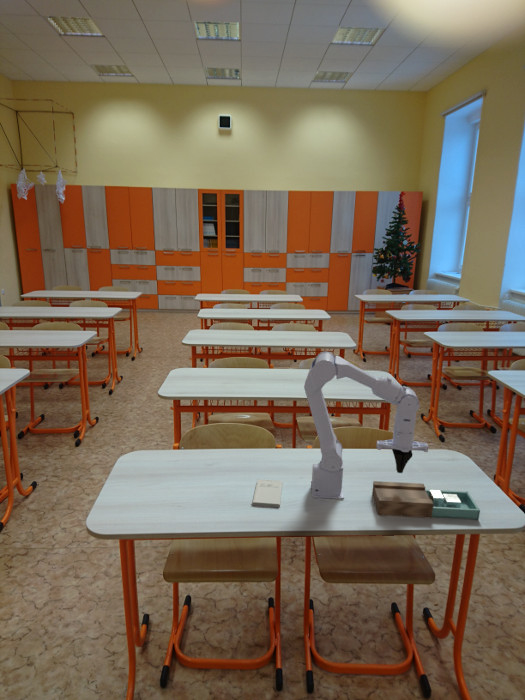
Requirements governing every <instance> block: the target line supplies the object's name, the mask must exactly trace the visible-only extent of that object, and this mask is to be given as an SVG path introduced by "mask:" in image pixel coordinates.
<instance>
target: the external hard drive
mask: <svg viewBox="0 0 525 700" xmlns="http://www.w3.org/2000/svg"><path fill="white" fill-rule="evenodd" d="M283 483H284V482H283V481H282V480H273V479H271V480H270V479H257V482H256V484H255V490H254V494H253V499H252V506H262V507H271V508H281V502H282V501H281V500H282V492H283V485H284V484H283Z"/></svg>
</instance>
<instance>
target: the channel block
mask: <svg viewBox="0 0 525 700" xmlns="http://www.w3.org/2000/svg"><path fill="white" fill-rule="evenodd" d="M372 484H373V485H372V492H371V493H372V498H373V501H374V506H375V508H376V513H377V515H378V516H391V517H394V516H395V517H407V516H408V517H407V518H410V517H411V518H425V517H427V518H428V517H430V518H428V519H431V518H433V517H432V510H433V502H432V500H431V499H430V498H429V496H428V494H427V492H426V490H427V489H426V485H425V484H424V483H421V482H419V483H418V482H417V483H414V482H399V481H397V482H395V481H378V480H373V481H372ZM425 489H426V490H425Z"/></svg>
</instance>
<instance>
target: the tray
mask: <svg viewBox="0 0 525 700" xmlns="http://www.w3.org/2000/svg"><path fill="white" fill-rule="evenodd" d="M425 490H426V492H427V494H428V496H429V490H430V489H427V488H425ZM439 490H440V489H439ZM440 491H441V493H442V495H443V494H457V496H458V498H459V500H460V501H461V507H460V508H448V507H444V506H443V507H433V510H432V518H440V517H442V519H459V520H460V519H461V520H462V519H463V520H479V519H480V513H481V510H480V508H479V507H478V505H477V504H476V502H475V501H474V499H473V497H472V496H471V494H470V493H469V491H462V490H461V491H460V490H444V489H443V490H442V489H441V490H440Z"/></svg>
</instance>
